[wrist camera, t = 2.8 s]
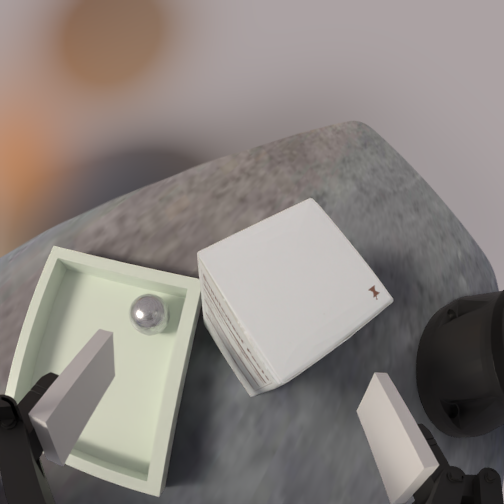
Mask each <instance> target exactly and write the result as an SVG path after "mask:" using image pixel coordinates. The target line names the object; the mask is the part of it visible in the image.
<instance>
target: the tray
mask: <svg viewBox="0 0 504 504" xmlns="http://www.w3.org/2000/svg"><path fill="white" fill-rule="evenodd" d="M143 294H155V295H157V296H159V297H161V298H162V299H163V300H164V301H165V302H166V303H167V305H168V307H169V311H170V320H169V323H168V325H167V327H166V328H165V329H164V330H163V331H162V332H161V333H159V334H156V335H144V334H141V333H140V332H138V331H137V330H136V329H135V328H134V327H133V326H132V324H131V322H130V319H129V309H130V306H131V304H132V302H133V301H134V300H135V299H136V298H137V297H139V296H140V295H143ZM201 305H202V299H201V289H200V280H199V279H197V278H193V277H188V276H183V275H178V274H174V273H169V272H164V271H160V270H155V269H150V268H146V267H141V266H137V265H132V264H128V263H124V262H119V261H115V260H111V259H106V258H102V257H98V256H94V255H89V254H85V253H81V252H77V251H73V250H69V249H65V248H61V247H57V246H53V248H52V250H51V253H50V255H49V257H48V260H47V262H46V264H45V267H44V269H43V272H42V274H41V277H40V279H39V282H38V284H37V287H36V290H35V292H34V295H33V298H32V300H31V303H30V306H29V309H28V312H27V315H26V318H25V321H24V324H23V327H22V330H21V334H20V337H19V340H18V344H17V347H16V351H15V355H14V359H13V363H12V367H11V371H10V375H9V379H8V384H7V388H6V393H5V395H8V396H10V397H12V398H13V399H14V400H15V401H16V403H17V405H18V403H19V402H20V401H21V400H22V399H23V398H24V396H25V395H26V394H27V393H28V392H29V391H30V389H31V388H32V387H33V386H34V385H35V384H36V382H37V381H38V380H39V379H40V378H41V377H42V376H44V375H46V374H48V373H50V372H52V373H55V374H57V375H60V374H61V373H62V372H63V370H64V369H65V368H66V367H67V366H68V364H69V363H70V362H71V361H72V360H73V359H74V357H75V356H76V355H77V354H78V353H79V351H80V350H81V349H82V348H83V347H84V346H85V345H86V343H87V342H88V341H89V340H90V339H91V338H92V337H93V335H94V334H95V333H96V332H97V331H98V330H99V329H102V330H106V331H110V332H113V345H114V365H115V377H114V379H113V380H112V382H111V384H110V385H109V387H108V389H107V390H106V392H105V394H104V395H103V397H102V399H101V400H100V402H99V404H98V405H97V407H96V409H95V411H94V412H93V414H92V416H91V417H90V419H89V421H88V423H87V424H86V426H85V428H84V430H83V431H82V433H81V435H80V437H79V438H78V440H77V442H76V444H75V445H74V447H73V449H72V451H71V453H70V454H69V456H68V458H67V460H66V462H65V464H67V465H69V466H71V467H74V468H76V469H78V470H81V471H83V472H85V473H88V474H90V475H93V476H95V477H98V478H101V479H103V480H106V481H109V482H112V483H115V484H117V485H120V486H123V487H126V488H130V489H133V490H136V491H139V492H143V493H146V494H150V495H154V496H157V497H159V496H160V495H161V493H162V492H163V490H164V489H165V485H166V480H167V474H168V468H169V462H170V456H171V451H172V445H173V440H174V435H175V429H176V424H177V419H178V414H179V408H180V403H181V398H182V393H183V388H184V383H185V379H186V374H187V369H188V364H189V359H190V355H191V350H192V345H193V341H194V336H195V332H196V327H197V323H198V318H199V314H200V310H201ZM42 453H44V452H42Z"/></svg>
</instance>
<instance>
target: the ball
mask: <svg viewBox="0 0 504 504" xmlns="http://www.w3.org/2000/svg"><path fill="white" fill-rule="evenodd" d="M129 319H130V322H131V324H132V326H133V327H134V328H135V329H136V330H137V331H138V332H140V333H141V334H144V335H156V334H159V333H161V332H162V331H163V330H164V329H165V328H166V327H167V325H168V323H169V320H170V311H169V307H168V305H167V303H166V302H165V301H164V300H163V299H162V298H161V297H159V296H157V295H155V294H143V295H140V296H139V297H137V298H136V299H135V300H134V301H133V302H132V304H131V306H130V309H129Z"/></svg>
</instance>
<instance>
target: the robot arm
mask: <svg viewBox="0 0 504 504" xmlns="http://www.w3.org/2000/svg"><path fill="white" fill-rule="evenodd" d="M416 375H417V385H418V391H419V395H420V399H421V402H422V405H423V407H424V409H425V411H426V413H427V415H428V417H429V418H430V420H431V421H432V423H433V424H434V425H435V426H436V427H437V428H438V429H439V430H441V431H442V432H443V433H445V434H447V435H450V436H453V437H459V438H460V437H475V436H480V435H483V434H486V433H488V432H490V431H492V430H494V429H496V428H497V427H499V426H501V425H503V424H504V290H503V291H499V292H493V293H486V294H479V295H472V296H465V297H462V298H459V299H457V300H455V301H453V302H451V303H450V304H448V305H446V306H445V307H443V308H441V309H440V310H439V311H438V312H436V313H435V315H434V316H433V317H432V318H431V319H430V321H429V322H428V324H427V326H426V328H425V330H424V332H423V334H422V337H421V340H420V344H419V348H418V354H417V364H416ZM114 377H115V365H114V345H113V332H110V331H106V330H102V329H99V330H98V331H97V332H96V333H95V334H94V335H93V337H92V338H91V339H90V340H89V341H88V342H87V343H86V345H85V346H84V347H83V348H82V349H81V350H80V351H79V353H78V354H77V355H76V356H75V357H74V359H73V360H72V361H71V362H70V363H69V364H68V366H67V367H66V368H65V369H64V370H63V372H62V373H61V374H60V375H57V374H55V373H52V372H50V373H48V374H46V375H44V376H42V377H41V378H40V379H39V380H38V381H37V382H36V384H35V385H34V386H33V387H32V388H31V389H30V391H29V392H28V393H27V394H26V395H25V396H24V398H23V399H22V400H21V401H20V402H19V403H18V405H17V403H16V401H15V400H14V399H13V398H12V397H10V396H8V395H0V471H1V476H2V481H3V485H4V490H5V494H6V498H7V502H8V504H55V501H54V498H53V496H52V493H51V490H50V487H49V485H48V482H47V479H46V476H45V473H44V469H43V466H42V463H41V460H40V458H39V457H40V456H41V454H42V452H44V454H45V456H46V459H47V460H49V461H51V462H54V463H56V464H58V465H60V466H63V465H64V464H65V462H66V460H67V458H68V456H69V454H70V453H71V451H72V449H73V447H74V445H75V444H76V442H77V440H78V438H79V437H80V435H81V433H82V431H83V430H84V428H85V426H86V424H87V423H88V421H89V419H90V417H91V416H92V414H93V412H94V411H95V409H96V407H97V405H98V404H99V402H100V400H101V399H102V397H103V395H104V394H105V392H106V390H107V389H108V387H109V385H110V384H111V382H112V380H113V379H114ZM357 414H358V416H359V419H360V422H361V424H362V427H363V429H364V432H365V435H366V437H367V440H368V443H369V445H370V448H371V451H372V453H373V456H374V459H375V461H376V464H377V467H378V470H379V472H380V475H381V478H382V481H383V483H384V486H385V489H386V492H387V495H388V497H389V500H390V503H391V504H401V503H406V502H407V501H408V500H409V499H410V498H411V497H412V496H414V499H415V501H414V502H413V503H412V504H504V503H503V494H502V486H501V479H500V476H499V474H498V473H497V471H495V470H494V469H492V468H484V469H482V470H481V471H480V472H479V473H478V474H477V475H465V473H464V472H463V471H462V470H461V469H459V468H458V467H454V466H450V465H449V464H448V462H447V460H446V458H445V457H444V455H443V453H442V451H441V450H440V448H439V446H438V445H437V443H436V441H435V439H434V437H433V436H432V434H431V432H430V431H429V430H428V429H427V428H426V427H425V426H424V425H423V424H417V423H416V422H415V420H414V418H413V416H412V415H411V413H410V411H409V409H408V408H407V406H406V404H405V403H404V401H403V399H402V397H401V396H400V394H399V392H398V391H397V389H396V387H395V385H394V384H393V382H392V380H391V379H390V377H389V375H388V374H387V373H377V372H374V375H373V377H372V379H371V381H370V384H369V386H368V388H367V390H366V392H365V395H364V397H363V399H362V401H361V403H360V405H359V407H358V409H357Z"/></svg>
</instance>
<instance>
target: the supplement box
mask: <svg viewBox="0 0 504 504" xmlns="http://www.w3.org/2000/svg"><path fill="white" fill-rule="evenodd" d="M197 258H198V269H199V280H200V289H201V299H202V310H203V320H204V325H205V327H206V329H207V330H208V332H209V333H210V335H211V337H212V338H213V340H214V341H215V343H216V345H217V346H218V348H219V349H220V351H221V352H222V354H223V356H224V357H225V359H226V360H227V362H228V363H229V365H230V367H231V368H232V370H233V371H234V373H235V374H236V376H237V377H238V379H239V380H240V382H241V383H242V385H243V386H244V388H245V389H246V391H247V392H248V394H249V395H250V396H251V397H253V396H256V395H258V394H261V393H264V392H267V391H270V390H273V389H276V388H278V387H280V386H282V385H284V384H286V383H287V382H289V381H290V380H292V379H293V378H295V377H296V376H297V375H299V374H300V373H302V372H303V371H305V370H306V369H308V368H309V367H310V366H312V365H313V364H315V363H316V362H317V361H319V360H320V359H322V358H323V357H324V356H326V355H327V354H328V353H330V352H331V351H333V350H334V349H335V348H337V347H338V346H339V345H341V344H342V343H343V342H345V341H346V340H347V339H349V338H350V337H351V336H352V335H353V334H355V333H356V332H357V331H358V330H360V329H361V328H362V327H363V326H365V325H366V324H367V323H368V322H369V321H371V320H372V319H373V318H374V317H376V316H377V315H378V314H379V313H380V312H382V311H383V310H384V309H385V308H386V307H388V306H389V305H390V304H391V303H392V302H393V297H392V296H391V295H390V294H389V292H388V291H387V290H386V288H385V287H384V285H383V284H382V283H381V281H380V280H379V279H378V277H377V276H376V275H375V273H374V272H373V271H372V269H371V268H370V267H369V265H368V264H367V263H366V262H365V260H364V259H363V258H362V257H361V255H360V254H359V253H358V251H357V250H356V249H355V248H354V247H353V245H352V244H351V243H350V242H349V240H348V239H347V238H346V237H345V235H344V234H343V233H342V232H341V231H340V229H339V228H338V227H337V226H336V225H335V223H334V222H333V221H332V220H331V219H330V217H329V216H328V215H327V214H326V213H325V211H324V210H323V209H322V208H321V207H320V206H319V205H318V204H317V203H316V202H315V201H314V200H313V199H312V198H309V199H307V200H305V201H303V202H301V203H299V204H296V205H294V206H292V207H290V208H288V209H286V210H283V211H281V212H279V213H277V214H275V215H273V216H271V217H269V218H267V219H264V220H262V221H260V222H258V223H256V224H254V225H252V226H250V227H248V228H246V229H244V230H242V231H239V232H237V233H235V234H233V235H231V236H229V237H227V238H225V239H223V240H221V241H219V242H217V243H215V244H213V245H211V246H209V247H207V248H205V249H202V250H200V251H198V252H197Z"/></svg>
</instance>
